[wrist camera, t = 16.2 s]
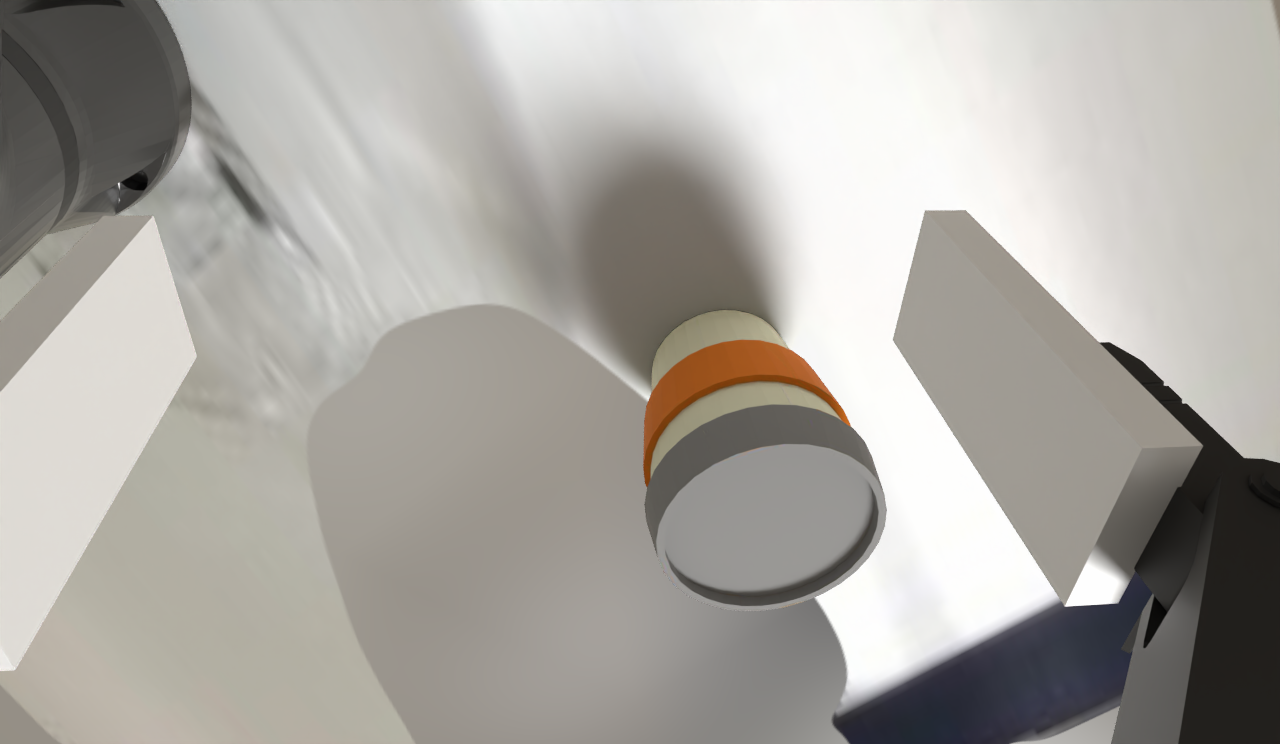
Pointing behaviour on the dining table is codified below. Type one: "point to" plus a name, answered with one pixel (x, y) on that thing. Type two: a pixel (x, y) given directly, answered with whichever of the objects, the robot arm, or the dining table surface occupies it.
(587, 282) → the dining table surface
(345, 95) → the dining table surface
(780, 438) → the reusable coffee cup
